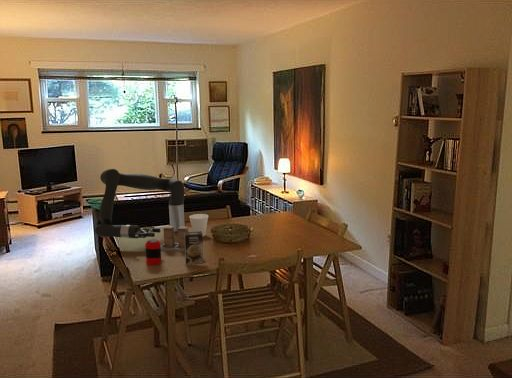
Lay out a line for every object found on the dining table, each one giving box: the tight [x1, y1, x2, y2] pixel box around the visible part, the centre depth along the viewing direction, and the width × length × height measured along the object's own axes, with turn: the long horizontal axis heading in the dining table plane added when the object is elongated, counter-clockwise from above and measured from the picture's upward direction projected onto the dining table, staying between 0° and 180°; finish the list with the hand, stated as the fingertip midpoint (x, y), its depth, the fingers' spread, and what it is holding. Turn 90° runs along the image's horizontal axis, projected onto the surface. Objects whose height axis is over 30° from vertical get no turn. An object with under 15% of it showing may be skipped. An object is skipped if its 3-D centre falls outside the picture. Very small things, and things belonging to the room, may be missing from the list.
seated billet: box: [177, 225, 189, 249], centre depth 261 cm, size 4×4×12 cm
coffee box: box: [184, 231, 204, 266], centre depth 242 cm, size 9×6×16 cm
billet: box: [162, 225, 176, 248], centre depth 263 cm, size 4×4×12 cm
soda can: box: [145, 238, 162, 266], centre depth 243 cm, size 8×8×12 cm
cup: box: [189, 213, 209, 237], centre depth 291 cm, size 12×12×12 cm
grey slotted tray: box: [160, 242, 185, 253], centre depth 263 cm, size 12×21×3 cm, turn 80°
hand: (157, 232), depth 264 cm, fingers open, 8 cm apart
